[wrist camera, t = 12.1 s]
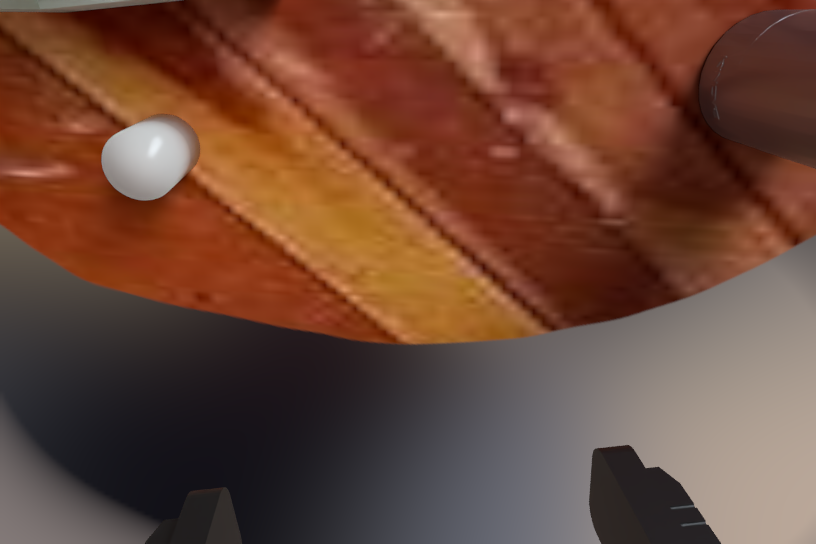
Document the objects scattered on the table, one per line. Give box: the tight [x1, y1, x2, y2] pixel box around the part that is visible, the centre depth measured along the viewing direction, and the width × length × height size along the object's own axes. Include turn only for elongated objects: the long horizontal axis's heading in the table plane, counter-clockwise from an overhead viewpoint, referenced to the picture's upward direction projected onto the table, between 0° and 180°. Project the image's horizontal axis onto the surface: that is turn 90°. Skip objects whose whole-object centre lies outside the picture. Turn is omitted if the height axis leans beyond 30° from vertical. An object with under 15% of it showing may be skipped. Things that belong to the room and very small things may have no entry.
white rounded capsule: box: [101, 114, 200, 200], centre depth 38 cm, size 4×4×6 cm
